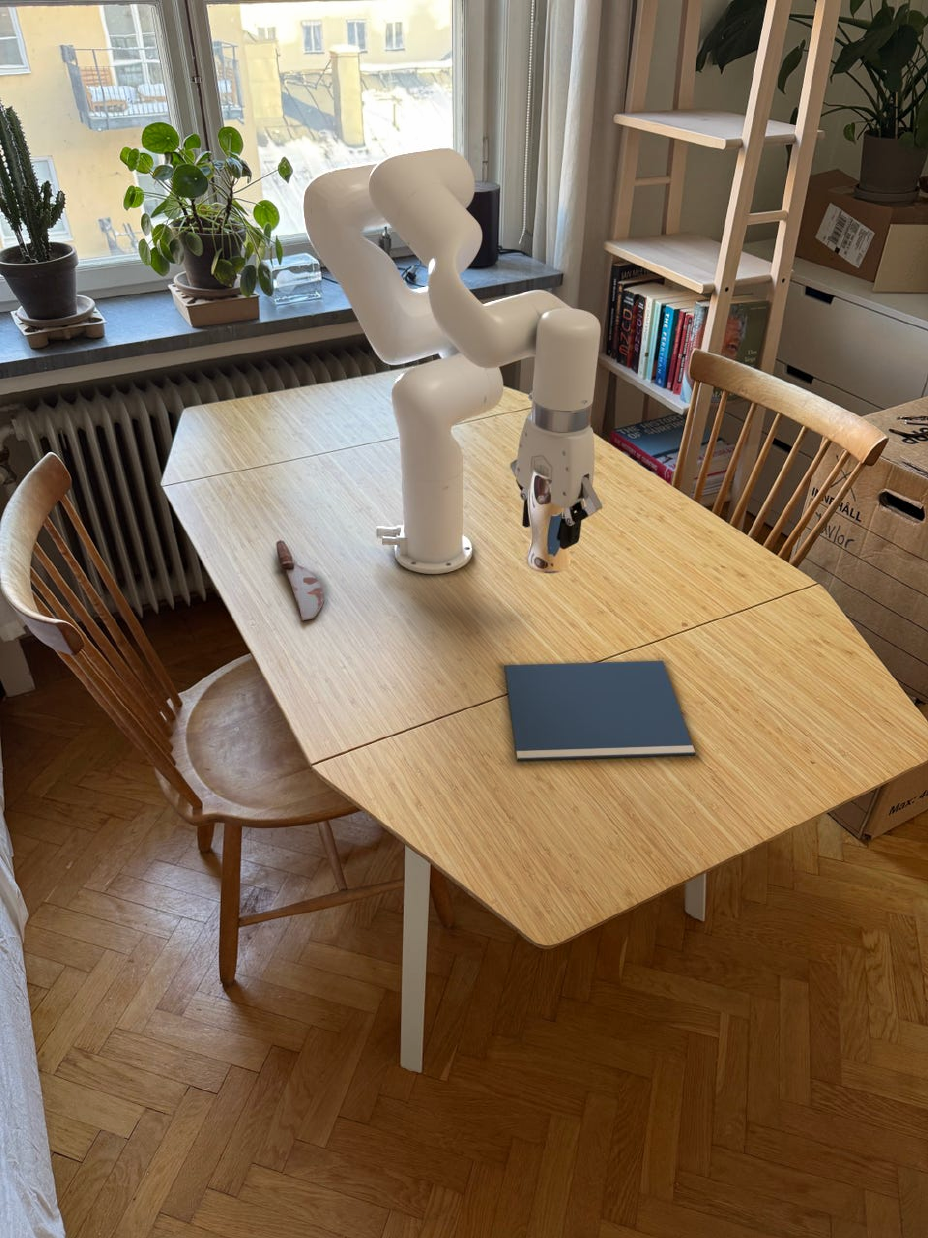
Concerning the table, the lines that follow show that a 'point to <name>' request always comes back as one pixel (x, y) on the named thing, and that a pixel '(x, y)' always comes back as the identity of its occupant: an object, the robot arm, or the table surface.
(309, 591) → the kitchen knife
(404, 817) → the table surface
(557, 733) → the blue hardcover book
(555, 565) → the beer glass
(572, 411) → the robot arm
